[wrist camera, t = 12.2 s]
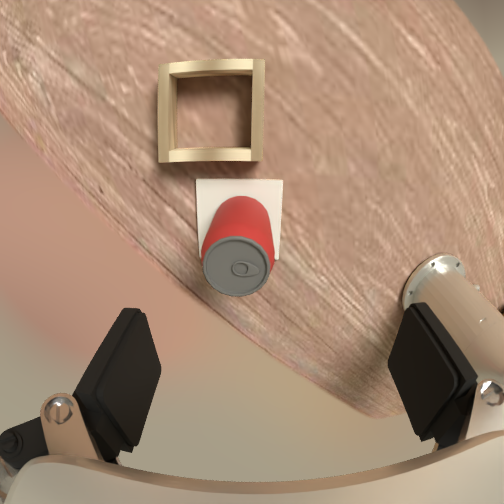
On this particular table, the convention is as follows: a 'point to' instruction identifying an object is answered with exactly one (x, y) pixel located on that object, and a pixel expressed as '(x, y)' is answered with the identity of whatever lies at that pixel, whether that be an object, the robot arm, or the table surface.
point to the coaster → (221, 189)
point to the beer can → (238, 247)
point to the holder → (168, 109)
